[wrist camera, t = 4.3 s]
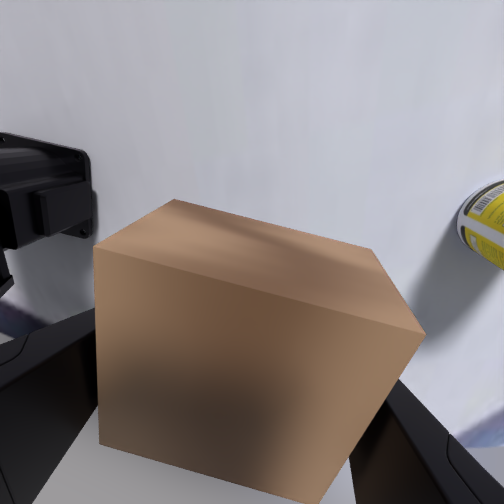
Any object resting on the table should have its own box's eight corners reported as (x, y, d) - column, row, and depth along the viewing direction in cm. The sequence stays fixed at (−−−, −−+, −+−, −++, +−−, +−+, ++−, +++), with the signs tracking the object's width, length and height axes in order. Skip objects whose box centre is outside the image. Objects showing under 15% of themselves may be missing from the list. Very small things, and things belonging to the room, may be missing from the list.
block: (159, 346, 12) (99, 443, 8) (174, 199, 9) (92, 246, 5) (309, 387, 11) (316, 507, 8) (371, 249, 9) (426, 334, 5)
